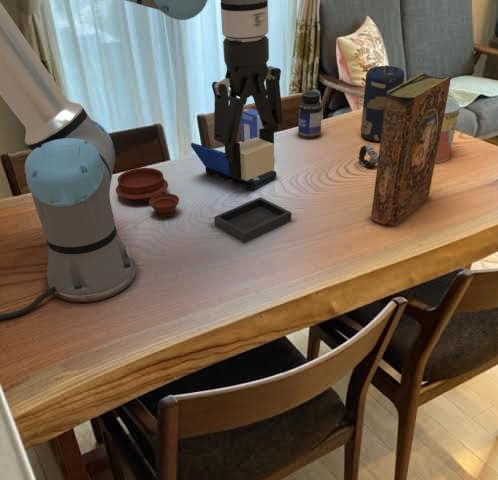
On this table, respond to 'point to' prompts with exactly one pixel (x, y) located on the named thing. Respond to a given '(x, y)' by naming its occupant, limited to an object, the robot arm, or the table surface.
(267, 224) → the dark grey tray
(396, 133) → the book
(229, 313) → the table surface
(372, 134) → the canister
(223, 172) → the game console
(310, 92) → the pill bottle
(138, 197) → the pottery
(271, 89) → the robot arm
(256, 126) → the walkman
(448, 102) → the canned food
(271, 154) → the beige rectangular block
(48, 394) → the table surface
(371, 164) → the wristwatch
